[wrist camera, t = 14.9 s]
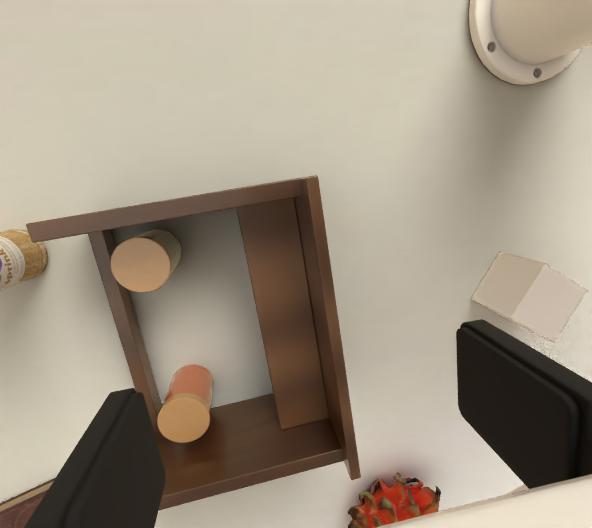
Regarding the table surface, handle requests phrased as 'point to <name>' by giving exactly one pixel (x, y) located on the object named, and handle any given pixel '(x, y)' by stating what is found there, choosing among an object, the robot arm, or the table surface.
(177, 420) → the terracotta jar
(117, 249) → the sage jar
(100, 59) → the table surface
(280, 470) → the spice rack
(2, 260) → the sprinkles bottle
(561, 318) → the light grey cube
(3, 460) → the table surface
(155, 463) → the robot arm
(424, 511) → the dragon fruit
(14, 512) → the notebook
